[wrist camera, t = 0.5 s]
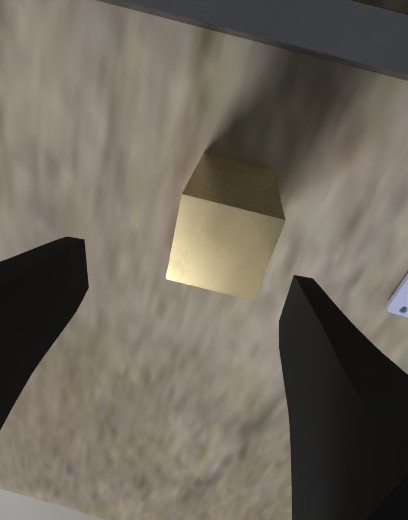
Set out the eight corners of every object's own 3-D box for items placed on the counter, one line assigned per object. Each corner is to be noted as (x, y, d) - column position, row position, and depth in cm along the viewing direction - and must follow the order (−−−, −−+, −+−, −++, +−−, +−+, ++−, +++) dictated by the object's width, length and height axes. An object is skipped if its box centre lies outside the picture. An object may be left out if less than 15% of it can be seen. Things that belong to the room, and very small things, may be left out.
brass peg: (273, 169, 18) (285, 220, 12) (252, 231, 20) (254, 300, 14) (204, 152, 18) (182, 194, 12) (190, 215, 20) (166, 278, 14)
